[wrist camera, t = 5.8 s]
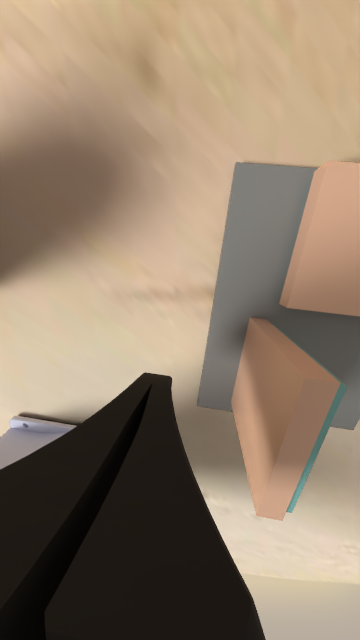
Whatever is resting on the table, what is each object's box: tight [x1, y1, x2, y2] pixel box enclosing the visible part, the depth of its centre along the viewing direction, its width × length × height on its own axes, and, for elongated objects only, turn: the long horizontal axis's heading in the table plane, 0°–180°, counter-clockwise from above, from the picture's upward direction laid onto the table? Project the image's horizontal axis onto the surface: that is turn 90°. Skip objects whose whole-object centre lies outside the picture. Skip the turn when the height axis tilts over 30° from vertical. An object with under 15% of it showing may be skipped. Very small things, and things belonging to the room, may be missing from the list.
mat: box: [197, 162, 360, 430], centre depth 12 cm, size 11×15×1 cm
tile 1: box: [231, 317, 347, 521], centre depth 10 cm, size 1×6×6 cm, turn 174°
